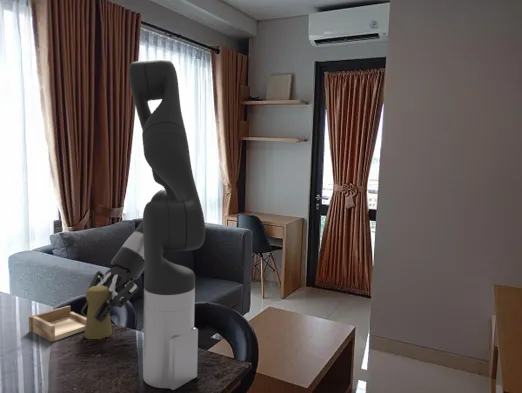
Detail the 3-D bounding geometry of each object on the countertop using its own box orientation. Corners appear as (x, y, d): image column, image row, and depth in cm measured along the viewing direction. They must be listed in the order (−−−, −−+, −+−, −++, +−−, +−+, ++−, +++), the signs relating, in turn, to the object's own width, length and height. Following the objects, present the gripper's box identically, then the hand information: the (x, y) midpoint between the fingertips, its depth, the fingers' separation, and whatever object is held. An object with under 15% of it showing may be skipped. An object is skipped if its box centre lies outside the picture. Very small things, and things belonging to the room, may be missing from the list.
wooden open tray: (91, 328, 101) (91, 313, 101) (49, 342, 93) (49, 327, 93) (70, 318, 106) (70, 304, 106) (29, 331, 98) (28, 316, 98)
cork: (116, 329, 101) (116, 283, 100) (105, 340, 95) (104, 292, 94) (92, 327, 102) (91, 282, 101) (78, 338, 96) (78, 290, 95)
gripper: (107, 241, 107) (61, 301, 98) (145, 250, 98) (99, 317, 90) (125, 258, 111) (83, 317, 103) (163, 268, 103) (120, 333, 95)
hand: (91, 316), depth 96 cm, fingers closed on cork, 4 cm apart
